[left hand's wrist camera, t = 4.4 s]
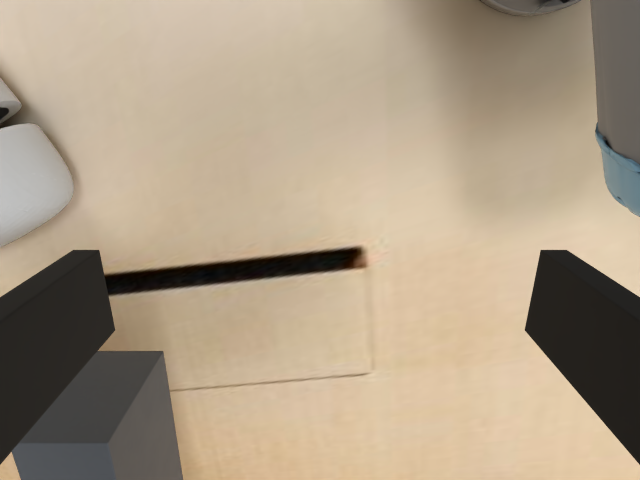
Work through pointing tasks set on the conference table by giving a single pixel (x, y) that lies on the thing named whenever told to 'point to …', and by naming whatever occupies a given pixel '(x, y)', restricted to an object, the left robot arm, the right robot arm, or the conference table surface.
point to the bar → (106, 424)
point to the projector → (28, 175)
